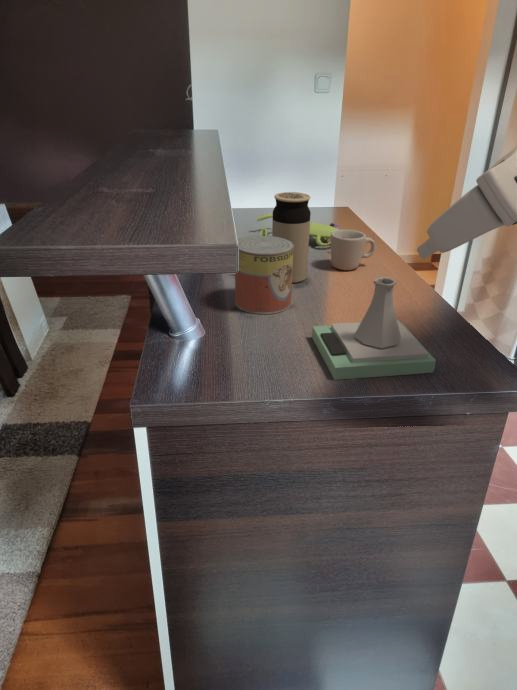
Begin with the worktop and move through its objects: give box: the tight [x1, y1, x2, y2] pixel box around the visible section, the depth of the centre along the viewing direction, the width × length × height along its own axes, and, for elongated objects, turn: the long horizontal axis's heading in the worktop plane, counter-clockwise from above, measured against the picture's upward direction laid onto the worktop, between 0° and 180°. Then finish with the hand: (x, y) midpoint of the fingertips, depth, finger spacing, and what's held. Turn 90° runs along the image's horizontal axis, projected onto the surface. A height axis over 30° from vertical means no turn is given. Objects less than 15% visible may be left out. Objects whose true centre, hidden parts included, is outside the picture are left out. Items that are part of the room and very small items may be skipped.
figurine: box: [256, 212, 340, 247], centre depth 138 cm, size 18×27×6 cm
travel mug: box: [271, 191, 312, 284], centre depth 111 cm, size 8×8×18 cm
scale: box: [311, 319, 437, 381], centre depth 84 cm, size 16×14×3 cm
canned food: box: [234, 235, 294, 315], centre depth 100 cm, size 11×11×12 cm
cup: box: [330, 229, 376, 271], centre depth 120 cm, size 11×8×8 cm
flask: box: [354, 276, 401, 348], centre depth 81 cm, size 7×7×10 cm
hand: (438, 245), depth 71 cm, fingers open, 8 cm apart
